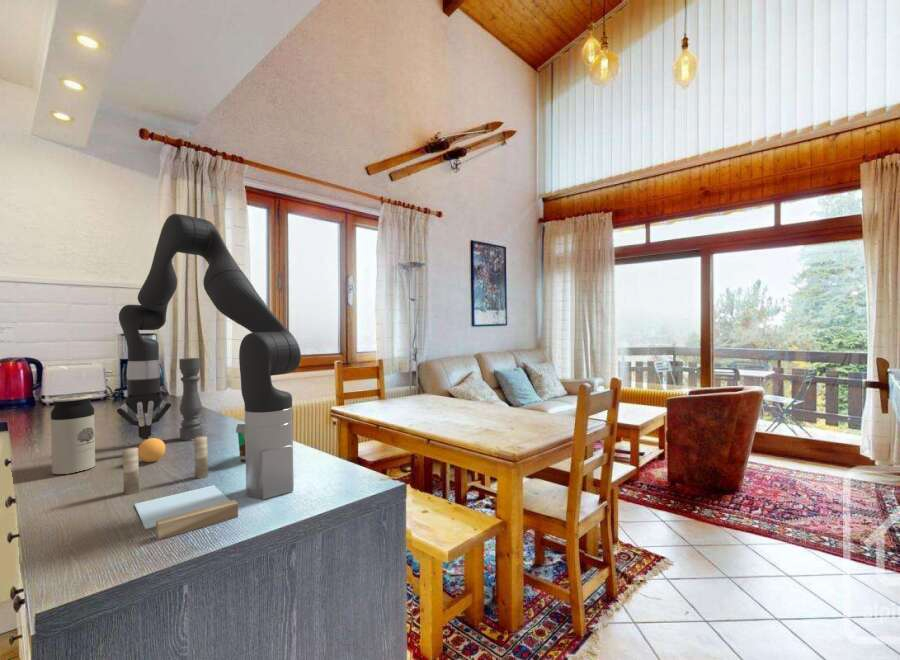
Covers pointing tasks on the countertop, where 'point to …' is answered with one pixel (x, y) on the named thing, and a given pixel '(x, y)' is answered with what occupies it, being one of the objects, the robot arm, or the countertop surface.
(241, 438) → the food container
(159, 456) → the ball
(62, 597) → the countertop surface
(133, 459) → the left post
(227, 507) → the wall
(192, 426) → the candle holder
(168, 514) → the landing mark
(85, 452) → the travel mug
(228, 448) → the countertop surface
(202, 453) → the right post
